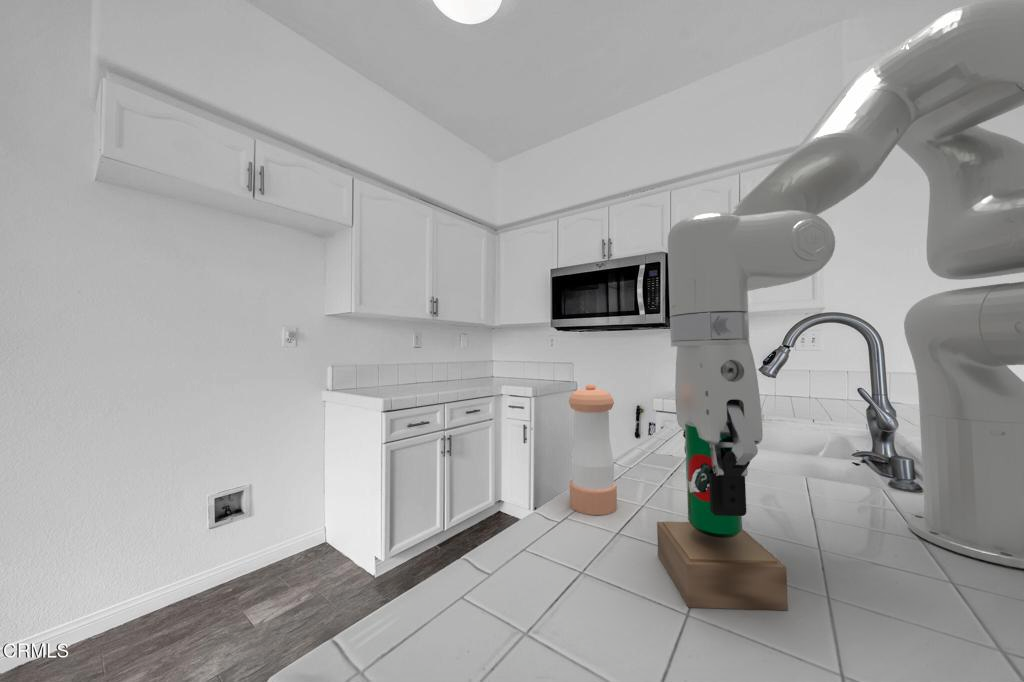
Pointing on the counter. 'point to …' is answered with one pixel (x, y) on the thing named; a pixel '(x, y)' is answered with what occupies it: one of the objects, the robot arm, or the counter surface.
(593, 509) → the pepper shaker
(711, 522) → the soda can
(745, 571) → the walnut base
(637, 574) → the counter surface
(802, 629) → the counter surface
